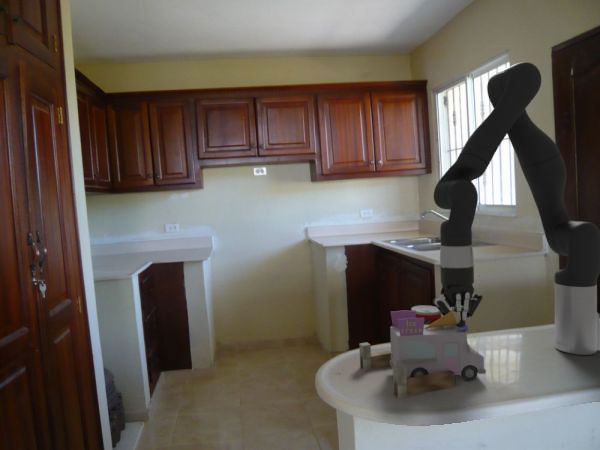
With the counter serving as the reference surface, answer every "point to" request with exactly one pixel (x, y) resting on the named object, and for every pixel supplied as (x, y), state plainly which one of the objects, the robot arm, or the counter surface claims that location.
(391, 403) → the counter surface
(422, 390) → the wooden rails pair
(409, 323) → the toy vehicle
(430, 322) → the canned food
